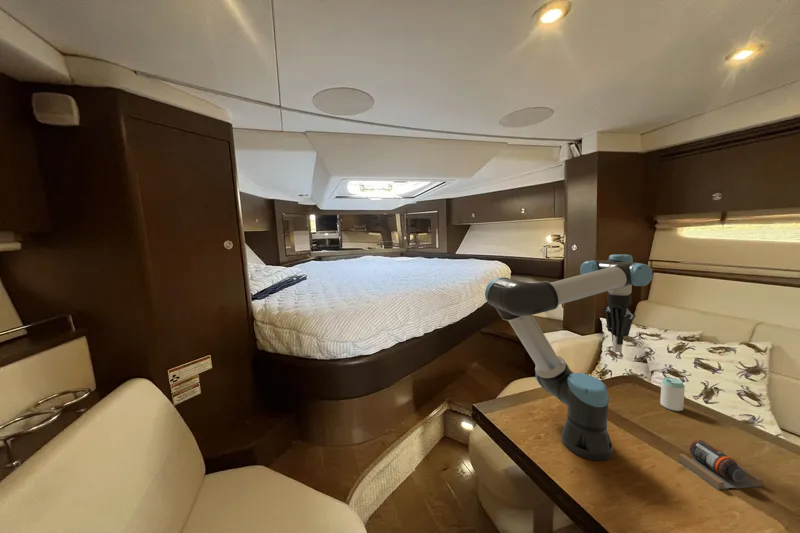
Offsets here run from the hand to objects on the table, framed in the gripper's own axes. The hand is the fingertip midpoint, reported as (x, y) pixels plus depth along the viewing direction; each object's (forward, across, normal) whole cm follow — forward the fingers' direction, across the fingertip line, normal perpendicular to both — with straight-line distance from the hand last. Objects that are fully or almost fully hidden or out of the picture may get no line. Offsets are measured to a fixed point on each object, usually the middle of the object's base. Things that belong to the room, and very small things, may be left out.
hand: (616, 351), depth 116 cm
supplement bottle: (+23, -24, -7) cm, 34 cm away
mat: (+26, -31, -7) cm, 41 cm away
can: (+27, +2, -27) cm, 38 cm away
